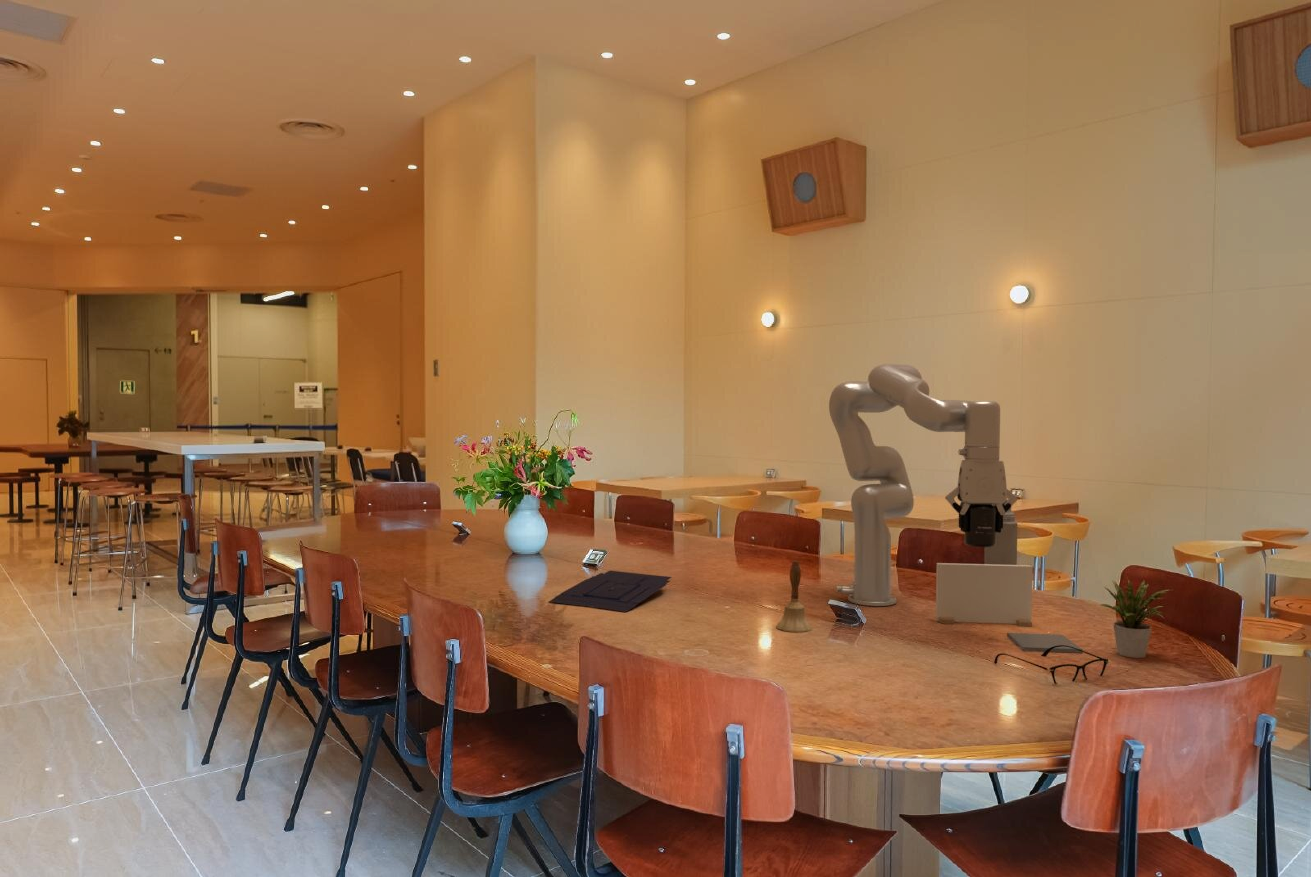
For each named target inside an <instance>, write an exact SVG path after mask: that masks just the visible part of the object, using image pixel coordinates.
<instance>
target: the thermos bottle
mask: <svg viewBox="0 0 1311 877" xmlns="http://www.w3.org/2000/svg"><path fill="white" fill-rule="evenodd" d="M1007 500H1008V499H1007ZM1007 500H1006V502H1007ZM1006 502H1005V503H1006ZM1003 504H1004V503H1003ZM1003 504H1002V505H1003ZM1015 514H1016V513H1015V512H1013V511H1012V507H1011V508H1010V509H1009V510H1008V511H1007V512H1006V513H1005V515H1003V528H1002V529H1001V533H998V532H996V544H995V546H993V547H984V560H983V561H984V563H983V564H996V565H1018V521H1016V520H1015V519H1016V515H1015Z"/></svg>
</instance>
